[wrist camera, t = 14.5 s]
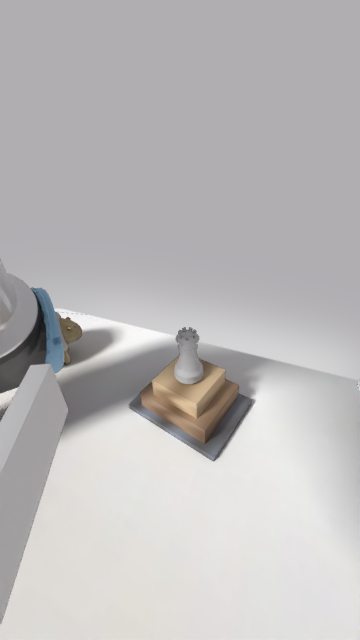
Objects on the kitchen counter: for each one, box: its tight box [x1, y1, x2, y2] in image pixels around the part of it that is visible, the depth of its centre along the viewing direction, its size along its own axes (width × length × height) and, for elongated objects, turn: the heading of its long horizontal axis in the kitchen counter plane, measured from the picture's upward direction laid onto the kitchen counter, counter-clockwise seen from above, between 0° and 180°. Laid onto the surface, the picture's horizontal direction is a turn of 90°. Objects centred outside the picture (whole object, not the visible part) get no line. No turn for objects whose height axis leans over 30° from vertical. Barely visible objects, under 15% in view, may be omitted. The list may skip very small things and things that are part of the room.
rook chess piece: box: [174, 327, 204, 385], centre depth 41 cm, size 4×4×8 cm
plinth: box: [129, 356, 252, 461], centre depth 45 cm, size 16×12×7 cm
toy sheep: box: [55, 312, 82, 364], centre depth 55 cm, size 11×17×11 cm, turn 115°
